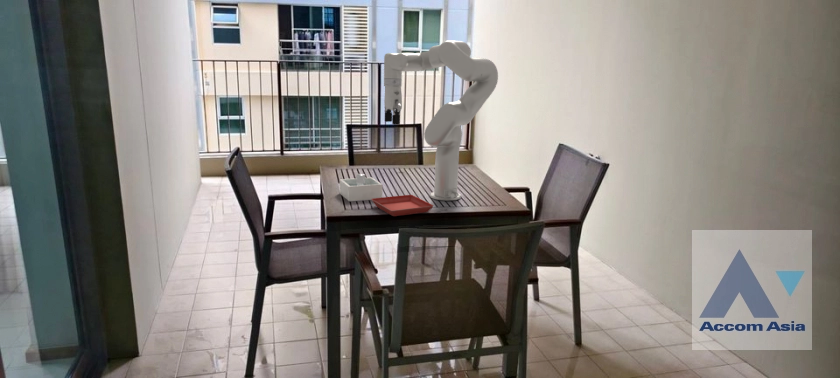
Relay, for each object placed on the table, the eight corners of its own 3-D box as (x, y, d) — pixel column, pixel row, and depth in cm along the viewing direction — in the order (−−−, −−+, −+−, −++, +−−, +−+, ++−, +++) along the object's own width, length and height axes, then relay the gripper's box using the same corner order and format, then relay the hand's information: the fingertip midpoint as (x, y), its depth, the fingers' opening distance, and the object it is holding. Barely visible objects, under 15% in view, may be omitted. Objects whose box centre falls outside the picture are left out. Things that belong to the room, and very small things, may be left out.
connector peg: (366, 194, 235) (366, 175, 233) (357, 195, 233) (357, 175, 231) (363, 192, 238) (363, 173, 236) (355, 193, 237) (355, 174, 235)
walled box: (382, 198, 232) (382, 184, 231) (348, 201, 227) (348, 186, 226) (371, 191, 245) (371, 177, 243) (339, 193, 239) (339, 179, 238)
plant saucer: (434, 213, 214) (434, 205, 214) (391, 219, 206) (391, 210, 205) (411, 202, 230) (411, 194, 229) (370, 207, 221) (370, 198, 220)
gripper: (408, 84, 237) (407, 125, 241) (394, 81, 253) (393, 120, 257) (391, 83, 235) (390, 125, 239) (377, 81, 250) (377, 120, 254)
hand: (392, 122), depth 248 cm, fingers open, 9 cm apart
